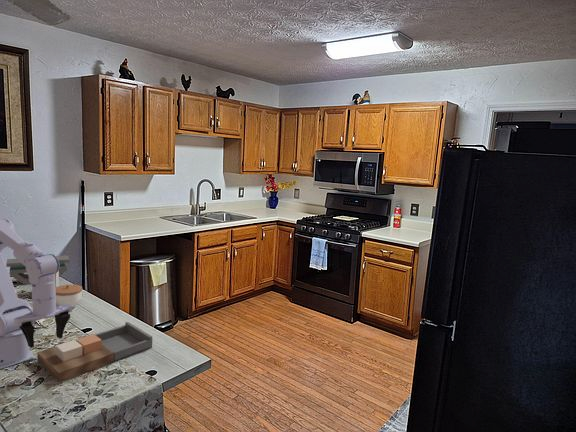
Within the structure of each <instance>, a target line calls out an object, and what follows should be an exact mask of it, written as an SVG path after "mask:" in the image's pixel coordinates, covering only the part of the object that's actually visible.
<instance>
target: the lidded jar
mask: <svg viewBox="0 0 576 432" xmlns="http://www.w3.org/2000/svg"><path fill="white" fill-rule="evenodd" d="M55 291H56V306H62V305H67V304H70V305H72V309H73V308H76V307H77V305H79V303H80V302H81V299H82V295H83V286H82V285H80V284H63V285H59V286H58V287H56V288H55Z"/></svg>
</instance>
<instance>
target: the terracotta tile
mask: <svg viewBox="0 0 576 432" xmlns="http://www.w3.org/2000/svg"><path fill="white" fill-rule="evenodd" d="M75 340H76V341H77V342H78V343H79V344H80V345H82V353H83V354H87V353H90V352H93V351H96V350H99V349H102V340H101V339H100V338H99V337H97V336H96V335H95V333H93V334H90V335H86V336H82V337H80V338H76V339H75Z"/></svg>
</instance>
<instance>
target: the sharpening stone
mask: <svg viewBox="0 0 576 432" xmlns="http://www.w3.org/2000/svg"><path fill="white" fill-rule="evenodd" d="M55 256H56V257H57V258H58V260H59V264H60V268H59V278H60V277H61V276H62V275H64V274H65V273H66V271H68V265H67V264H68V263H70V256H69V255H55ZM5 264H6V267H7V268H9V275H10V277H11V278H13V279H14V280H17V281H18V282H20V283H21V284H23V285H24V286H26V285H32V284H31V283H30V281H29V276H28V274H27V271H26V266H25V265H23V264H22V263H21V262H20V261H19V260H18V259H17V258H7V259H6V262H5Z"/></svg>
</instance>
